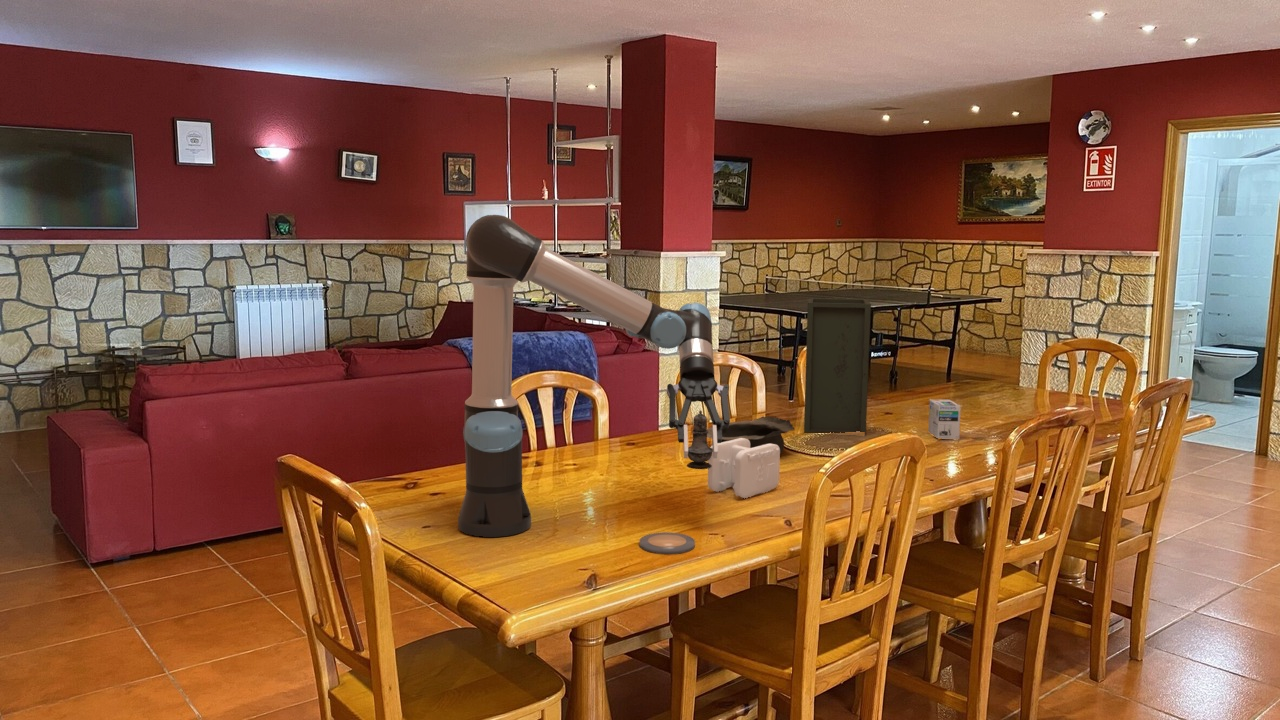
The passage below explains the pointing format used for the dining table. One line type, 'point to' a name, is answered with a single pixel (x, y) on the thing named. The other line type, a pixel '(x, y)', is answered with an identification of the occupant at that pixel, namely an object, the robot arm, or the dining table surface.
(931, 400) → the light bulb box
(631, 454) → the dining table surface
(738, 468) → the cable organizer
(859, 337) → the dark green rectangular pillar
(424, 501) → the dining table surface
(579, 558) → the dining table surface
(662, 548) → the coaster
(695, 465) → the salt shaker
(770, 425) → the black brimmed hat
